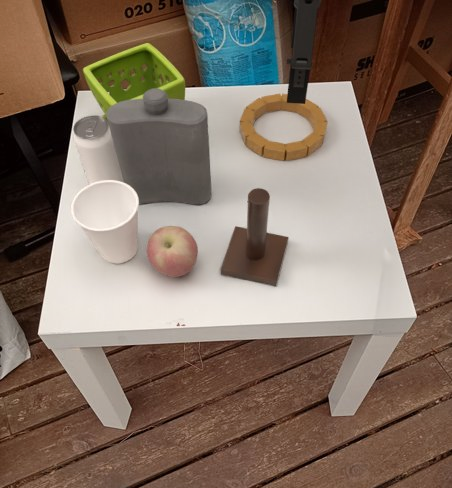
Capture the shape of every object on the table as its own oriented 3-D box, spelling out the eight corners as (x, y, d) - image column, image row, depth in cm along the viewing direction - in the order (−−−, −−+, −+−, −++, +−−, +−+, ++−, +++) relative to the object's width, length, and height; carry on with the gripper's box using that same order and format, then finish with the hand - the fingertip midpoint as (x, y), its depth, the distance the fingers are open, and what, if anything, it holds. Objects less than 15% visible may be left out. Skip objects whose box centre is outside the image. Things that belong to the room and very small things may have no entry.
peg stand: (287, 242, 83) (297, 179, 71) (276, 286, 78) (284, 227, 66) (235, 231, 84) (235, 167, 72) (220, 274, 80) (218, 213, 67)
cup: (134, 281, 79) (121, 238, 70) (78, 265, 81) (58, 220, 72) (158, 234, 84) (149, 188, 75) (105, 220, 86) (89, 173, 76)
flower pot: (158, 99, 102) (149, 39, 92) (193, 138, 96) (188, 79, 85) (96, 124, 99) (79, 65, 88) (127, 167, 92) (113, 109, 82)
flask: (212, 181, 90) (207, 82, 73) (211, 206, 87) (205, 108, 70) (129, 180, 91) (105, 82, 74) (125, 204, 88) (99, 108, 71)
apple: (140, 268, 81) (132, 237, 74) (174, 240, 83) (169, 207, 77) (176, 296, 78) (170, 266, 71) (209, 265, 81) (207, 234, 74)
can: (85, 193, 89) (66, 140, 79) (92, 167, 92) (74, 113, 82) (122, 194, 89) (107, 140, 79) (127, 168, 92) (113, 113, 82)
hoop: (330, 110, 100) (332, 101, 98) (316, 167, 92) (318, 158, 90) (251, 97, 102) (252, 88, 100) (231, 151, 94) (231, 142, 92)
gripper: (290, -135, 66) (278, 25, 84) (279, -39, 53) (267, 126, 71) (348, -133, 65) (323, 28, 83) (351, -36, 52) (321, 129, 70)
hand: (297, 73), depth 77 cm, fingers open, 13 cm apart
